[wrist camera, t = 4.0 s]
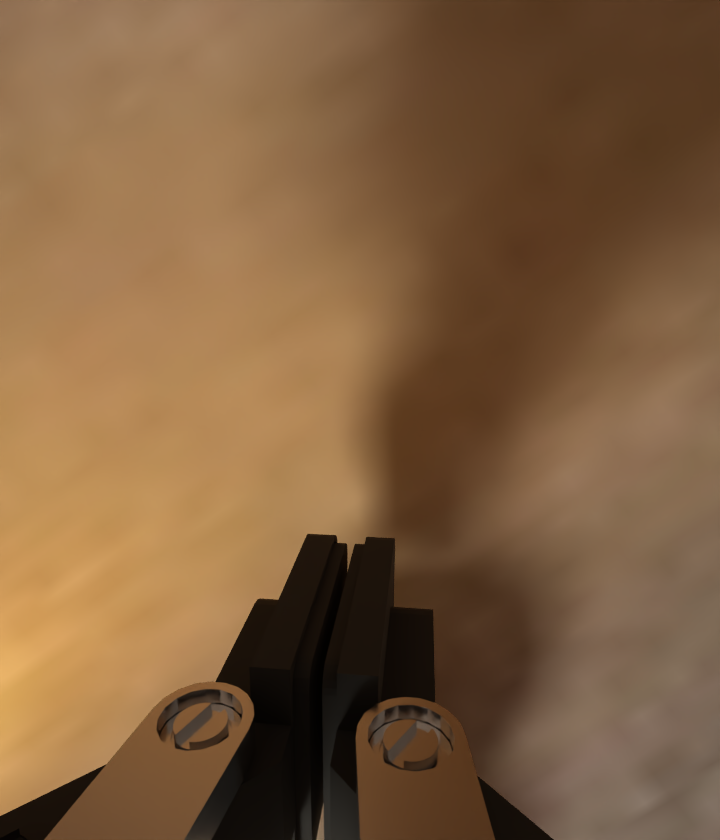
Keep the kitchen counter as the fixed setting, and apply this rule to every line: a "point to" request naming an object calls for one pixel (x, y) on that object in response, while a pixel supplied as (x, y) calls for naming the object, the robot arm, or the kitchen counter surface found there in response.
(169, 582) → the kitchen counter surface
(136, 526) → the kitchen counter surface
